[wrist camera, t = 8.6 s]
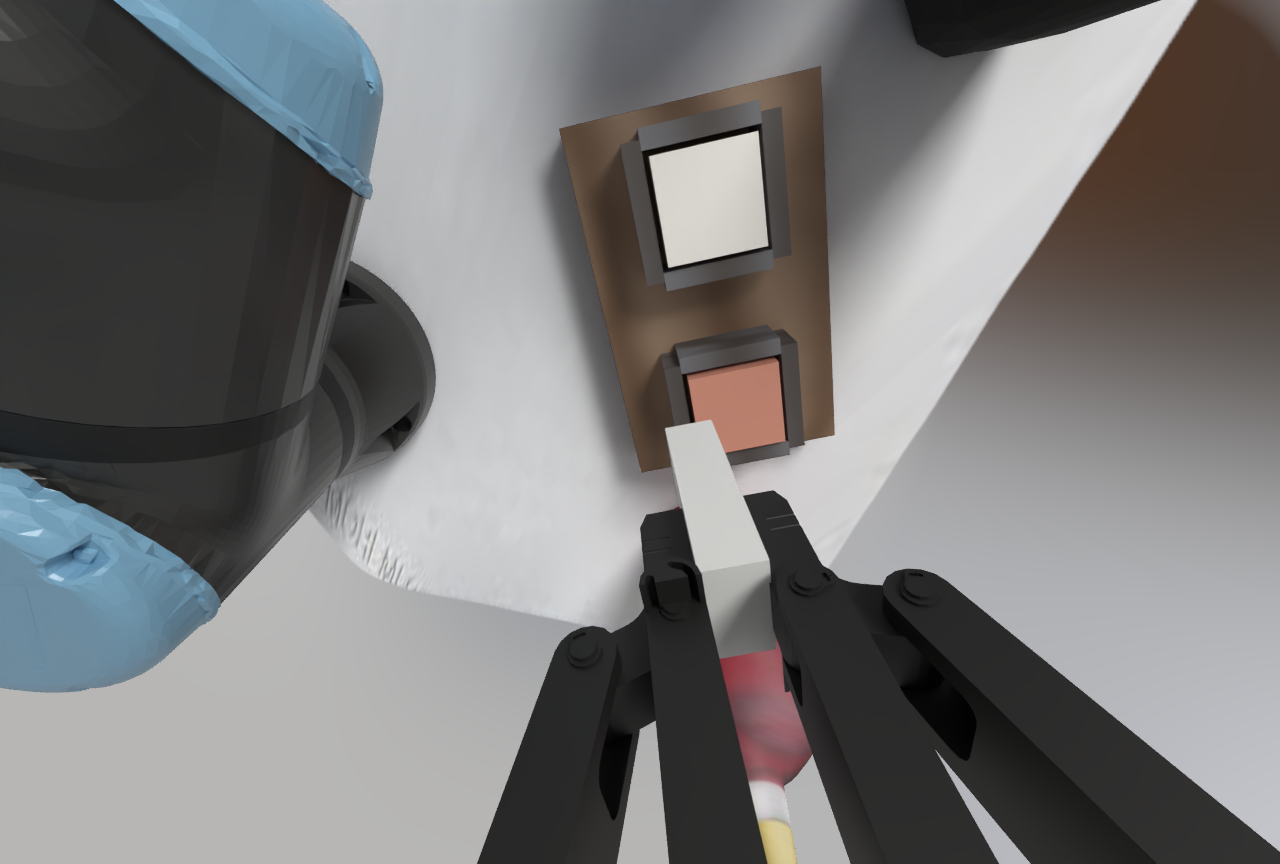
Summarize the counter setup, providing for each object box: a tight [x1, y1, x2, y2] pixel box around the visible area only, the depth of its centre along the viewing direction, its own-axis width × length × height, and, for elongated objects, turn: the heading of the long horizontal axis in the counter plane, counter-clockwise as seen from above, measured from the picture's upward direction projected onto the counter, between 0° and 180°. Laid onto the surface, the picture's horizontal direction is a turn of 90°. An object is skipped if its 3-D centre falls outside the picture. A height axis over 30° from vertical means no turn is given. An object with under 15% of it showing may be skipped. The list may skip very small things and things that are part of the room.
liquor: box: [674, 507, 812, 864], centre depth 31 cm, size 7×7×28 cm
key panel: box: [559, 66, 835, 472], centre depth 32 cm, size 14×22×6 cm, turn 12°
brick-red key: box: [686, 356, 785, 453], centre depth 32 cm, size 5×5×2 cm
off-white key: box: [647, 131, 768, 268], centre depth 27 cm, size 5×5×2 cm
